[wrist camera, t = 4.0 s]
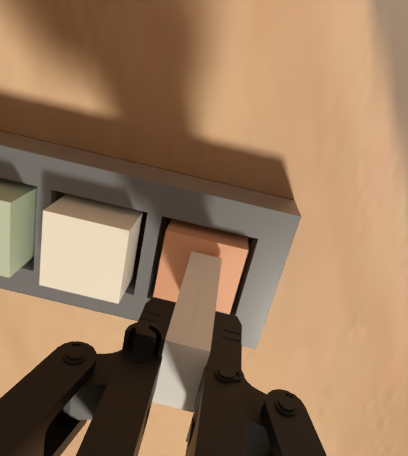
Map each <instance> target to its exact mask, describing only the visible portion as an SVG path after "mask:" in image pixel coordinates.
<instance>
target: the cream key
mask: <svg viewBox="0 0 408 456" xmlns="http://www.w3.org/2000/svg"><path fill="white" fill-rule="evenodd" d="M142 215H143V212H141V211H137V210H132V209H128V208H124V207H120V206H115V205H111V204H107V203H103V202H99V201H94V200H90V199H86V198H82V197H78V196H73V195H69V194H66V195H64V196H63V197H61V198H60V199H59V200H57V201H56V202H54V203H53V204H51V205H50V206H49V207H47V208H46V209H44V210H43V220H42V239H41V259H40V278H39V285H41V286H46V287H50V288H54V289H58V290H62V291H66V292H71V293H75V294H79V295H83V296H87V297H92V298H96V299H100V300H104V301H108V302H113V303H117V304H119V302H120V300H121V298H122V296H123V294H124V293H125V291H126V289H127V287H128V285H129V283H130V281H131V280H132V276H133V270H134V264H135V257H136V251H137V245H138V239H139V233H140V227H141V221H142Z"/></svg>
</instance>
